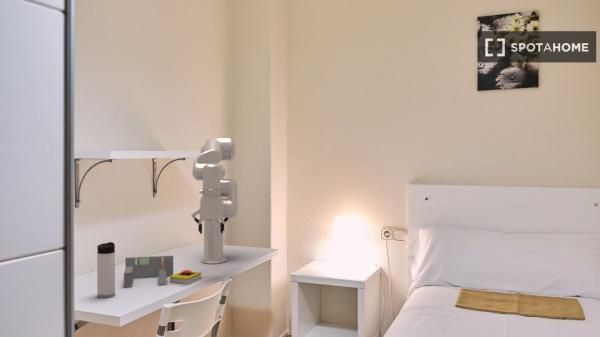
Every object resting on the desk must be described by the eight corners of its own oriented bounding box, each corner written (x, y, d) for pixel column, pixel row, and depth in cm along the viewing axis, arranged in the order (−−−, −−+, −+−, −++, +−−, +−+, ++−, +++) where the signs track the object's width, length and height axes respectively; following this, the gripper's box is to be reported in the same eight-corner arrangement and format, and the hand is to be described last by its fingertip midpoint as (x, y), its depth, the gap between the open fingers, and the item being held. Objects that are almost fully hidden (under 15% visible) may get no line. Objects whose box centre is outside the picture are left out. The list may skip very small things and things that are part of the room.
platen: (159, 277, 214) (159, 260, 214) (166, 277, 215) (166, 260, 215) (158, 284, 204) (158, 266, 203) (166, 284, 204) (166, 265, 204)
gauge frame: (125, 278, 214) (125, 257, 214) (173, 275, 220) (173, 255, 219) (122, 287, 199) (122, 265, 199) (173, 284, 205) (173, 263, 204)
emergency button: (204, 268, 217) (184, 276, 202) (203, 278, 217) (184, 287, 203) (185, 267, 220) (165, 274, 206) (185, 276, 220) (165, 285, 206)
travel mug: (118, 293, 191) (118, 242, 190) (108, 298, 185) (108, 245, 184) (104, 292, 192) (104, 241, 192) (93, 297, 186) (93, 244, 185)
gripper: (191, 193, 207) (191, 235, 208) (232, 193, 212) (232, 233, 212) (190, 192, 214) (190, 232, 215) (230, 192, 219) (230, 231, 219)
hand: (211, 232), depth 213 cm, fingers open, 8 cm apart
